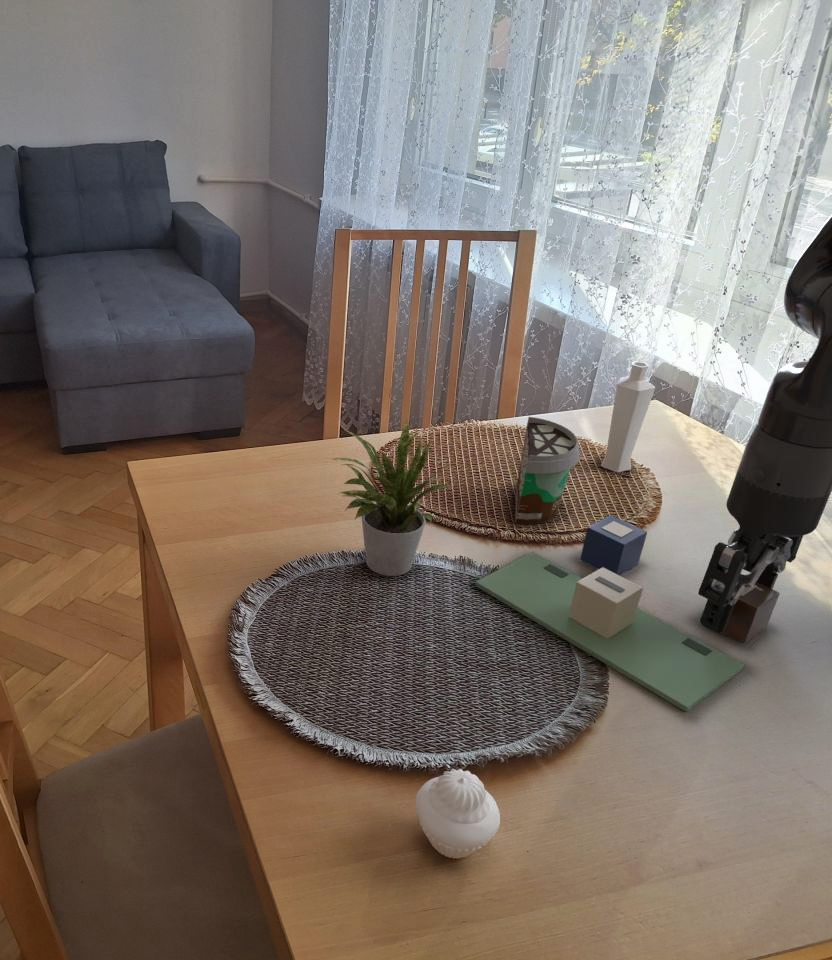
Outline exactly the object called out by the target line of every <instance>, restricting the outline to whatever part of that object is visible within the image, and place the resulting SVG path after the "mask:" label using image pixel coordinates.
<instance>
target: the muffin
mask: <svg viewBox="0 0 832 960" xmlns="http://www.w3.org/2000/svg"><path fill="white" fill-rule="evenodd" d="M414 801H415V802H414V806H415V811H416V815H417V820H418V822H419V826H420V827H421V829H422V832H423V833H424V835H425V836H426V838H427V839H428V841H429V843H430V844H431V846H432V847H433V848H434V850H435V851H436V852H437V853H439V854H440V855H441V856H445V857H446V858H448V859H451V858H452V859H453V860H454V859H457V860H459V859H463V858H466V857H468V856H470V855H472V854H474V853H475V852H477V851H479V850H481V848H483V847H485V846H486V845H487V844H488V843H489V842H490V841H491V839H493V837H494V836H495V835H496V834H497V832H498V831H499V829H500V825H501V813H500V810H499V806H498V804H497V802H496V800H495V799H494V797H493V795H491V793H489V792H488V790H486V789H485V785H484V783H483V782H482V780H480V779H479V777H478V776H477V775H476V774H474V773H471V771H469V770H463V769H462V768H459V769H457V770H456V769H455V768H451V769H450V771H449V770H444V771H443V774H442V775H439V776H437V777H433V778H430V779H429V780H427V781H426V782H425V783H423V785H422V786H421V787H420V788H419V790H418V792H417V793H416V796H415V800H414Z"/></svg>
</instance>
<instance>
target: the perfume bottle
mask: <svg viewBox="0 0 832 960" xmlns="http://www.w3.org/2000/svg"><path fill="white" fill-rule="evenodd" d="M648 368H650V365H649V364H648V363H646V362H645V361H634V360H633V361H632V362H631V369H630V372H629V375H626V376H622V377H620V378H619V380H618V382H617V384H616V389H615V396H614V401H613V407H612V408H613V409H612V414H611V421H610V427H609V432H608V439H607V445H606V451H605V456H604V458H603V459H602V461H601V464H600V467H602V468H604V469H607V470H609V471H612V472H614V473H621V472H625V471H630V470H632V464H631V463H632V462H631V458H632V455H633V452H634V450H635V447H636V443H637V441H638V438H639V435H640V432H641V429H642V427H643V424H644V420H645V418H646V415H647V412H648V410H649V407H650V404H651V400H652V398H653V395H654V392H655V390H656V386H654V384H652V383H651V382H649V380H647V379H646V376H647V373H648V370H649V369H648Z"/></svg>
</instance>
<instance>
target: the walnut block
mask: <svg viewBox="0 0 832 960" xmlns="http://www.w3.org/2000/svg"><path fill="white" fill-rule="evenodd" d="M736 585H737V584H736ZM720 587H722V588H724V587H725V586H724V584H723V583H721V585H720ZM780 594H781V593H780V591H778V590H775V589H774V588H773V589H771V588H768V587H766V586H764V585H762V584H760V583H758V582H756V583H755V584H754V586H752V587H746V588H745V589H744V591H743V592H742V594H741V595H740V597H739V598H738V601H737V603H736V604H735V606H734V609H733V612H732V614H731V617H730V620H729V622H728V625H727V628H726V630H725V631H723V632H722V633H721V634H724V635H725V636H727V637H729V638H731V639H733V640H735V641H736V642H739V643H741V644H743V645H745V644H746V643H749V641H751V640H752V639H753V638H755V637H756V636H757V635H759V634H760V633H761V632H762V631H764V630H765V629H766V628H768V625H769V622H770V620H771V617H772V615H773V613H774V612H773V611H774V609H775V607H776V604H777V601H778V599H779V596H780ZM707 600H708V599H707ZM707 600H706V601H707Z"/></svg>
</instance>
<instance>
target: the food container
mask: <svg viewBox="0 0 832 960" xmlns="http://www.w3.org/2000/svg"><path fill="white" fill-rule="evenodd" d="M523 440H524V441H523V447H522V452H521V458H520V463H519V469H518V474H517V480H516V486H515V523H514V524H519V525H538V524H543V523H547V522H549V521H551V520H552V519H554V518H555V517H556V515H557V514H558V512H559V508H560V504H561V501H562V498H563V495H564V492H565V487H566V485H567V481H568V478H569V476H570V472H571V469H572V468H574V467H575V466H576V465H577V464H578V463H579V461H580V445H579V441H578V438H577V436H576V435H575V433H574V432H573V431H571V429H569V428H568V427H565V426H563V425H561V424H559V423H557V422H554V421H551V420H549V419H544V418H540V417H533V416H528V418H527V422H526V427H525V434H524V439H523Z"/></svg>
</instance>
